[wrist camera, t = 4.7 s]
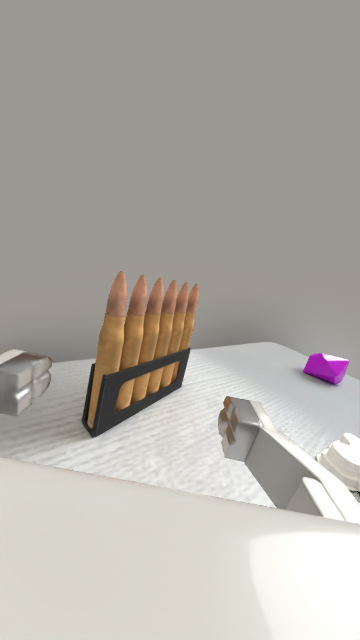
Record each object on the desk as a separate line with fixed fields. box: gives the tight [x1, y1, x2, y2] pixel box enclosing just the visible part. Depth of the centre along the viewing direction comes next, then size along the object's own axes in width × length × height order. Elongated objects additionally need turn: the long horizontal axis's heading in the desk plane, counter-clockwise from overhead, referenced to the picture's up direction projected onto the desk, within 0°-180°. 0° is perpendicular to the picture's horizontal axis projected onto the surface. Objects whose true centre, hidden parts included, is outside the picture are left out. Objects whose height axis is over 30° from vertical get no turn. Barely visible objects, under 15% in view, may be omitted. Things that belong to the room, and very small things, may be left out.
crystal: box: [303, 353, 349, 384], centre depth 34 cm, size 5×5×5 cm
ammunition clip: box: [82, 271, 199, 437], centre depth 16 cm, size 11×2×12 cm, turn 142°
